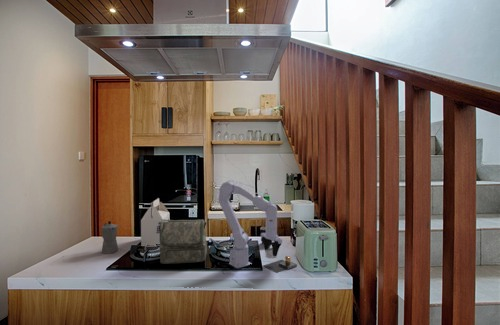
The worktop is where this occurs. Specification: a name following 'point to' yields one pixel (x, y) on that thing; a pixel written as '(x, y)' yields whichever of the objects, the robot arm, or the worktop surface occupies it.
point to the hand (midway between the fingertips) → (271, 253)
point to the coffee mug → (263, 230)
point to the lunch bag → (182, 241)
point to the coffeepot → (109, 238)
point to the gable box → (153, 223)
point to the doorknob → (287, 263)
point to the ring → (269, 253)
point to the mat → (275, 266)
